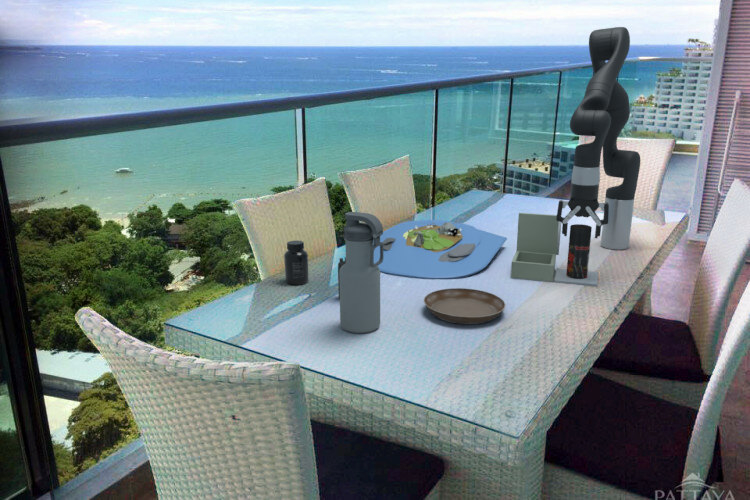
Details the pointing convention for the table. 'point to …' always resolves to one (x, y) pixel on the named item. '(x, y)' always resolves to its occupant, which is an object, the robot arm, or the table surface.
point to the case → (536, 247)
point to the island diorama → (436, 249)
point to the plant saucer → (464, 305)
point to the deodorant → (578, 251)
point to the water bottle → (360, 274)
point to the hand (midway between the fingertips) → (580, 236)
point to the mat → (563, 278)
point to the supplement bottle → (296, 263)
